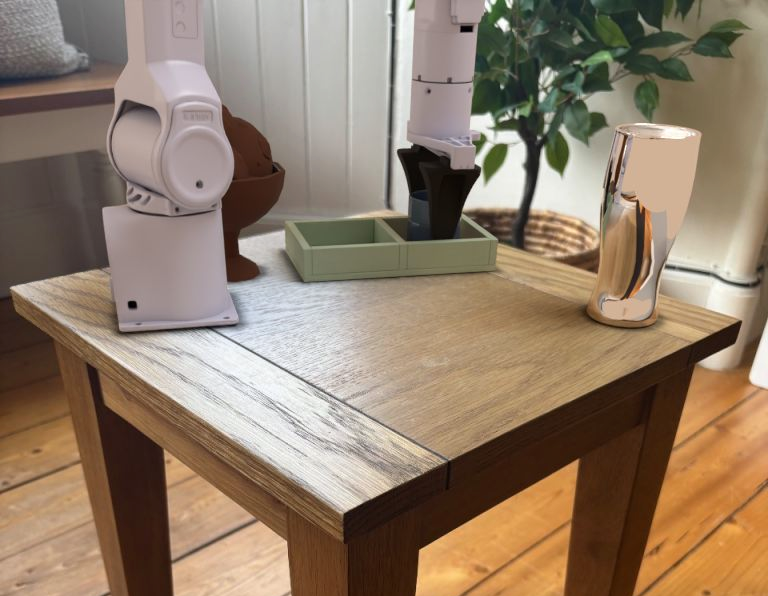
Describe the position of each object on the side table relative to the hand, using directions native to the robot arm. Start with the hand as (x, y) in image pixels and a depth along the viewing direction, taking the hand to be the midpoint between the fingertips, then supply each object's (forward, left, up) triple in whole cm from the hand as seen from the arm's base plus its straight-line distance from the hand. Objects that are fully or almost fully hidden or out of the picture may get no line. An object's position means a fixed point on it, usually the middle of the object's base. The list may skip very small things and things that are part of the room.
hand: (433, 230), depth 83 cm
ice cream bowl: (-21, -1, -3) cm, 21 cm away
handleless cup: (0, 0, -2) cm, 2 cm away
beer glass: (+11, -19, -3) cm, 22 cm away
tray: (-5, 0, -3) cm, 5 cm away
